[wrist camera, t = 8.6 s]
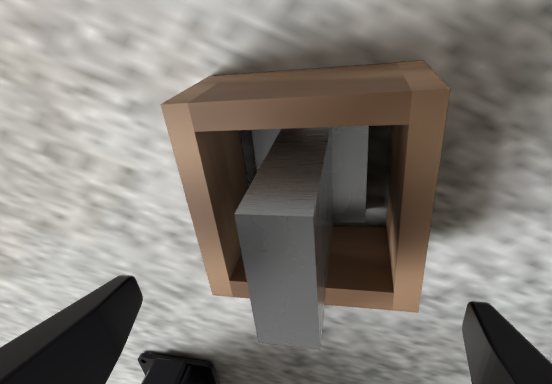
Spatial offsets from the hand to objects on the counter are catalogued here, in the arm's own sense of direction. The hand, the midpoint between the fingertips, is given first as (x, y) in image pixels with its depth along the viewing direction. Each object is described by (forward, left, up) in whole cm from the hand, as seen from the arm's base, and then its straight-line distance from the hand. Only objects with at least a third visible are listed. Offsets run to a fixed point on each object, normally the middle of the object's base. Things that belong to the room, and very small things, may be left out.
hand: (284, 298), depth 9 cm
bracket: (0, 0, -9) cm, 9 cm away
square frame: (0, 0, -9) cm, 9 cm away
